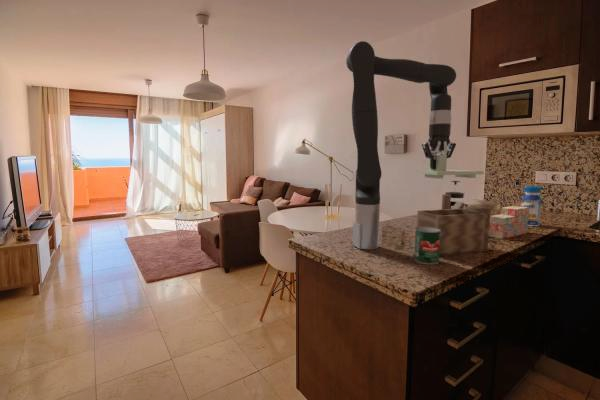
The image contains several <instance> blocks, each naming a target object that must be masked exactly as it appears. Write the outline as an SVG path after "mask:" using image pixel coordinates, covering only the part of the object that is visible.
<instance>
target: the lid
mask: <svg viewBox="0 0 600 400" xmlns="http://www.w3.org/2000/svg"><path fill="white" fill-rule="evenodd" d="M435 160H436V169H435V170H432V169H431V168H430V165H429V169H428V170H417V174H420V175H424V178H429V179H441V180H442V179H444V176H455V177H456V178H468V179H476V175H484V174H485V173H484V172H485V171H484V170H468V169H466V170H464V169H447V165H448V164H447V162H448V158H447V155H440V154H437V158H436V159H435Z"/></svg>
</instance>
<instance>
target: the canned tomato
mask: <svg viewBox="0 0 600 400" xmlns="http://www.w3.org/2000/svg"><path fill="white" fill-rule="evenodd" d="M440 231H441V230H440V229H438V228H433V227H417V226H416V227H415V232H414V233H415V235H414V237H415V238H414V253H413V254H414V258H413V260H414V261H415V262H416V263H419V264H424V265H437V264H439V262H440V256H439V248H440Z"/></svg>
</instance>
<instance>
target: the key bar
mask: <svg viewBox="0 0 600 400" xmlns="http://www.w3.org/2000/svg"><path fill="white" fill-rule="evenodd" d="M468 206H475V207H480V208H485V209H491V211H497V210H498V211H501V210H500V209H501V203H500V202H495V201H489V200H483V199H477V198H469V199H468Z"/></svg>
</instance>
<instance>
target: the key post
mask: <svg viewBox="0 0 600 400" xmlns="http://www.w3.org/2000/svg"><path fill="white" fill-rule="evenodd" d="M466 210H471V211H475V212H480V213H485V214H486V218H485V231H484V245H483V252H485V251H488V247H489V237H490V236H489V225H490V216H491V211H492V210H491V209H485V208H480V207H475V206H470V205H468V206H466Z"/></svg>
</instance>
